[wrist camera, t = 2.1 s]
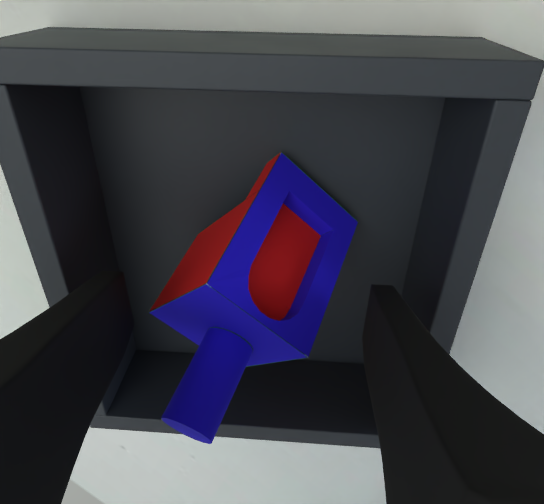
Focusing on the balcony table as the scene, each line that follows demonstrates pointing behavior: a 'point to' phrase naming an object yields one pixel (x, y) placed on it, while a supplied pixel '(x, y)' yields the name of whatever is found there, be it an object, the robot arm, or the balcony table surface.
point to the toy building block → (252, 290)
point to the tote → (242, 176)
